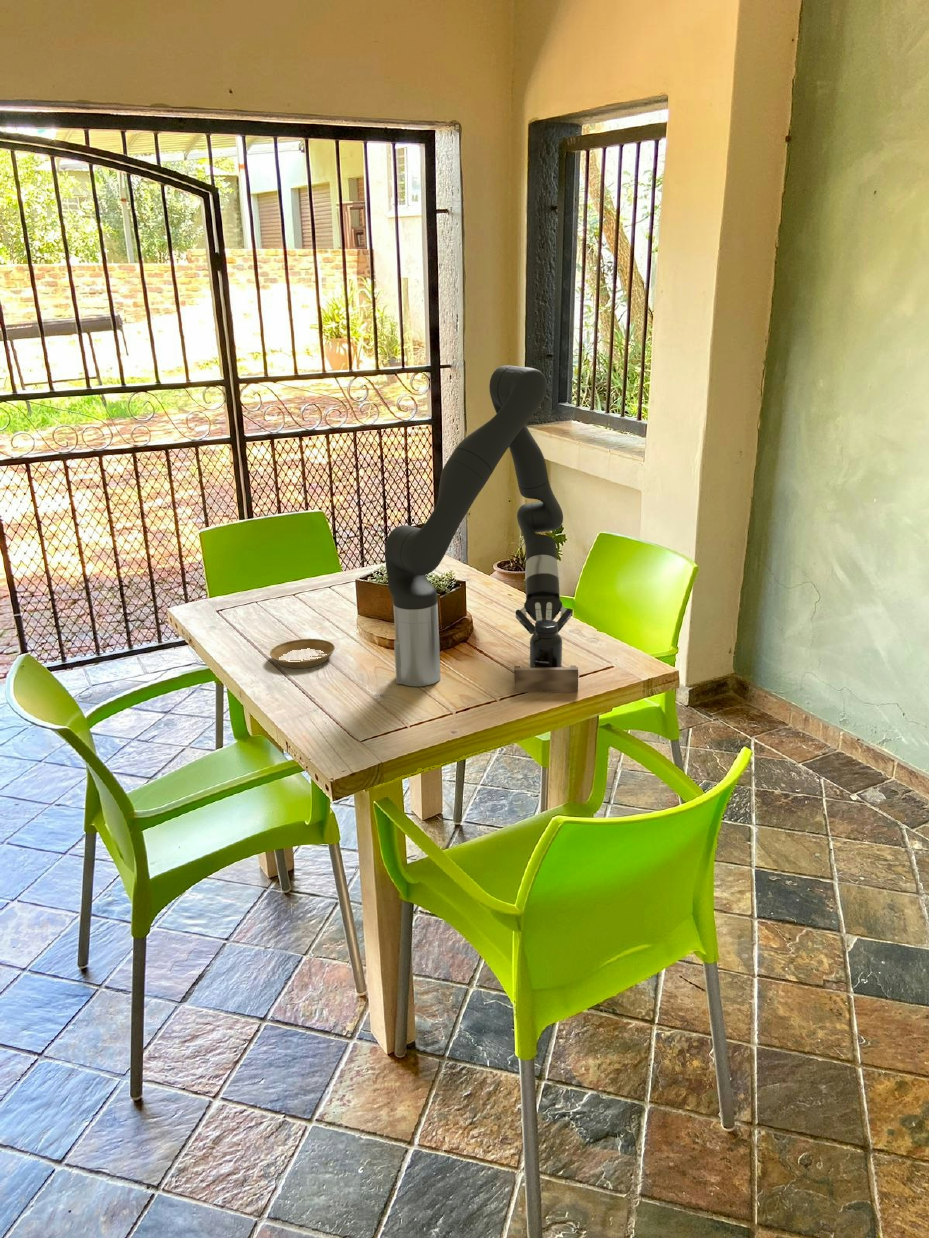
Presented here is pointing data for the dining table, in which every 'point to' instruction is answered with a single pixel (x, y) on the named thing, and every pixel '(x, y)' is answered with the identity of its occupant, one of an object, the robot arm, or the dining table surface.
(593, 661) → the dining table surface
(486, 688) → the dining table surface
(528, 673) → the block
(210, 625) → the dining table surface
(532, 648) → the supplement bottle
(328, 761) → the dining table surface
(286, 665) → the plant saucer
